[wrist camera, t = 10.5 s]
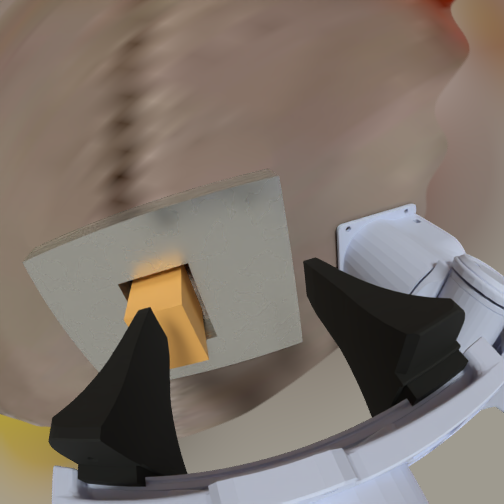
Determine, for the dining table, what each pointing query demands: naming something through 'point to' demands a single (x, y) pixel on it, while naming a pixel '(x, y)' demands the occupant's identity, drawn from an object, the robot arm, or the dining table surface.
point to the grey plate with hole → (175, 254)
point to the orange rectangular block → (172, 313)
